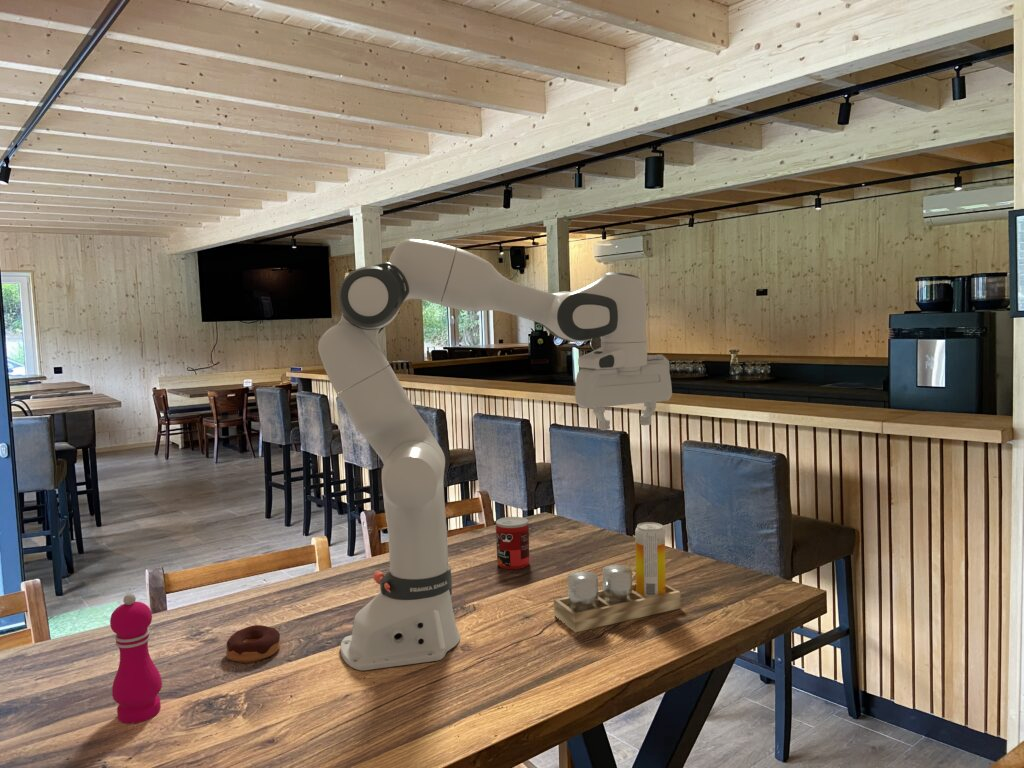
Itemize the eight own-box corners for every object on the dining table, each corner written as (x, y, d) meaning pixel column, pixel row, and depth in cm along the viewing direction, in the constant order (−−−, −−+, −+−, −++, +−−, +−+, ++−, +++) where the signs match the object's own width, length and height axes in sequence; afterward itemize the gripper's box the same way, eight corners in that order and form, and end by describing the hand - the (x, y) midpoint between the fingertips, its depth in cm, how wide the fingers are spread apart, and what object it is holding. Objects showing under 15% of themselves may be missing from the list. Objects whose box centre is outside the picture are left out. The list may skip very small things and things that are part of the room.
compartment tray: (575, 632, 149) (574, 615, 149) (554, 616, 157) (554, 599, 157) (680, 608, 159) (680, 591, 159) (656, 594, 167) (655, 578, 167)
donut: (250, 670, 138) (249, 649, 138) (214, 659, 143) (213, 638, 143) (293, 648, 147) (291, 628, 146) (257, 638, 152) (256, 618, 151)
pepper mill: (171, 700, 128) (161, 584, 126) (152, 724, 121) (142, 601, 119) (127, 702, 128) (116, 586, 126) (105, 726, 120) (94, 604, 118)
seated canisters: (577, 618, 151) (577, 584, 150) (563, 607, 156) (562, 574, 155) (638, 605, 156) (637, 571, 156) (622, 595, 162) (621, 563, 161)
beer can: (663, 589, 164) (662, 521, 162) (667, 600, 158) (666, 529, 156) (634, 590, 164) (633, 521, 163) (638, 601, 158) (636, 530, 157)
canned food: (493, 561, 191) (492, 518, 190) (524, 557, 194) (522, 515, 193) (502, 571, 184) (500, 527, 183) (533, 567, 187) (532, 523, 185)
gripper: (659, 352, 156) (660, 420, 157) (570, 358, 148) (572, 429, 149) (678, 354, 150) (678, 424, 152) (586, 360, 142) (588, 434, 143)
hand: (625, 427), depth 150 cm, fingers open, 8 cm apart
